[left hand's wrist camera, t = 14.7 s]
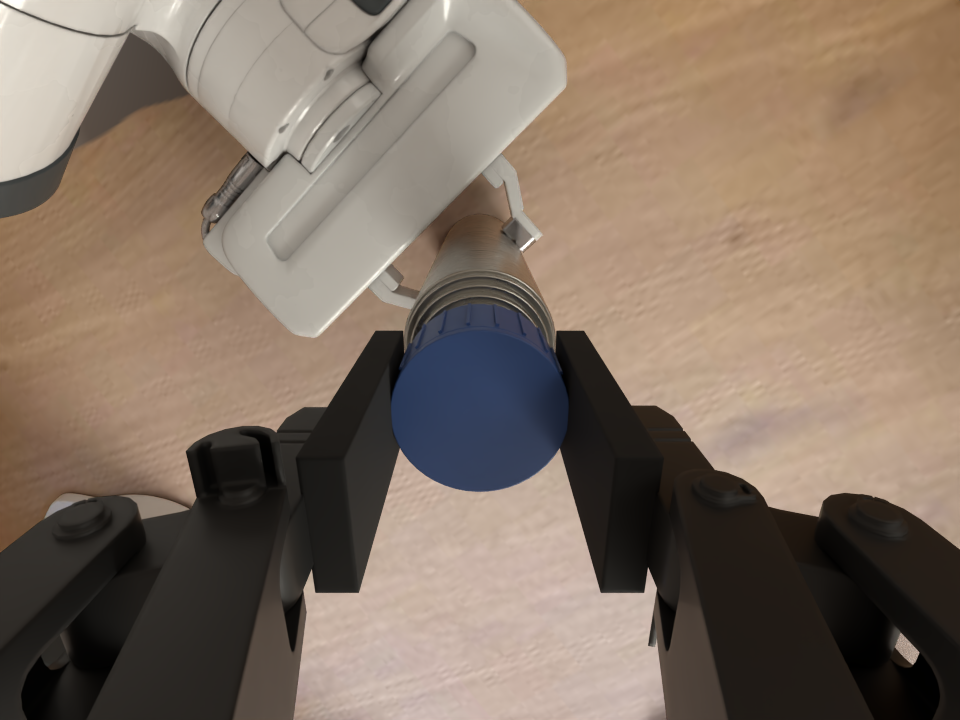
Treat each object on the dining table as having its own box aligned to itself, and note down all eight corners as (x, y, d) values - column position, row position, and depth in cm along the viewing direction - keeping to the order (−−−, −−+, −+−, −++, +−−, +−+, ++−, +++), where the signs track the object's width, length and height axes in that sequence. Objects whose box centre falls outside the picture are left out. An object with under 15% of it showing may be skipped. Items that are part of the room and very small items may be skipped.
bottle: (469, 301, 37) (450, 524, 14) (429, 240, 35) (334, 378, 12) (529, 263, 36) (618, 436, 13) (491, 199, 34) (515, 265, 11)
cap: (550, 446, 15) (562, 496, 13) (403, 443, 15) (390, 491, 13) (563, 304, 14) (580, 331, 11) (400, 299, 14) (384, 325, 11)
